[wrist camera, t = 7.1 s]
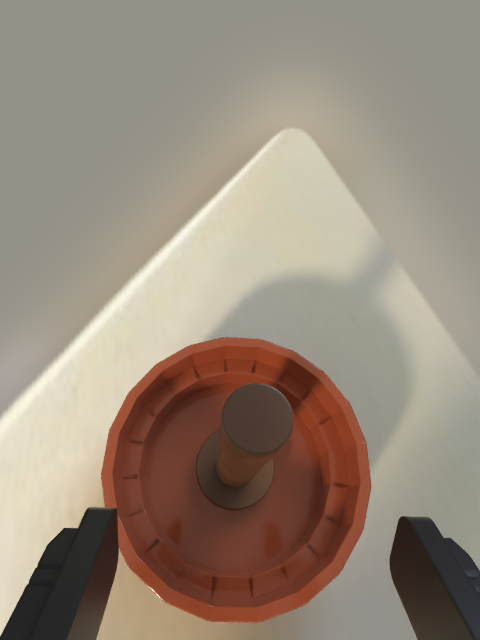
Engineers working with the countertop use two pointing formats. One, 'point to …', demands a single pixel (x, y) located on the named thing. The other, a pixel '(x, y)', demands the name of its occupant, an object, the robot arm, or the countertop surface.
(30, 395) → the countertop surface
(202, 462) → the masher
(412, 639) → the countertop surface
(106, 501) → the bowl
